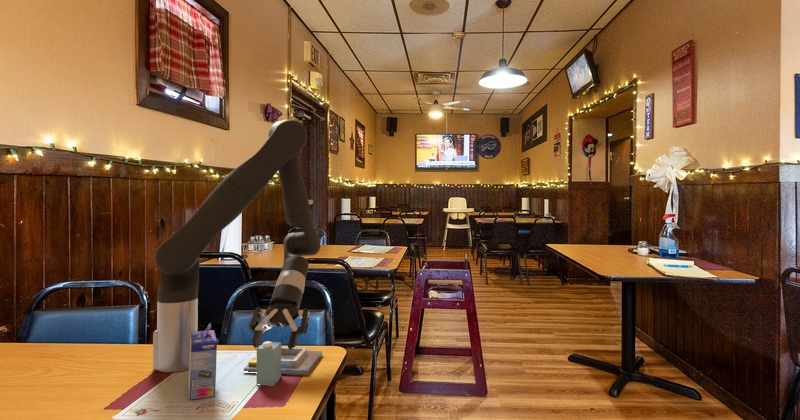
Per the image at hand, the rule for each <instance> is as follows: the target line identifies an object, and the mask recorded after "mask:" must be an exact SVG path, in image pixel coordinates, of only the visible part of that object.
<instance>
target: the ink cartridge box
mask: <svg viewBox="0 0 800 420" xmlns="http://www.w3.org/2000/svg"><path fill="white" fill-rule="evenodd" d="M206 326H207V327H206V328H205V330H198V331H197V332H191V335H190V360H189V369H188V384H187V385H188V400H189V401H190V400H198V399H205V398H206V399H207V398H213V397H216V387H217V386H216V383H217V350H218V346H217V345H218V339H217V337H216V332H215V329H214V330H213V329H212V323H211V322H210V323H208V325H206Z"/></svg>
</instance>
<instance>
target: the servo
mask: <svg viewBox="0 0 800 420" xmlns="http://www.w3.org/2000/svg"><path fill="white" fill-rule="evenodd" d="M281 347H282V341H281V342H280V341H268V340H267V341H264V342H263V343H261V344H260V345H259V347H258V348H257V349H256V358H257V374H256V385H257V384H260V385H268V386H267V387H275V385H276V384H277V383H278V382H279V380H280V379H281V378H282V375H281ZM280 377H281V378H280ZM279 378H280V379H279ZM276 382H277V383H276ZM275 383H276V384H275Z"/></svg>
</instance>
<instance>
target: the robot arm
mask: <svg viewBox="0 0 800 420" xmlns="http://www.w3.org/2000/svg"><path fill="white" fill-rule="evenodd" d="M307 140H308V132H307V129H306V126H304V124H303V123H301V122H299V121H298V120H296V119H295V120H294V119H283V120H278V121H276V122H275V123H273V124H272V126H271V127H270V129H269V132H268V138H267V140H266V141H265V142H264V144H262V146H261V147H260V148H259V150H257V152H255V153H254V154H253V155H252V156H250V157H249V158H248V159H246V160H245V161H243V162H242V163H240V164H239V165H238V166H237V167H236V168H234V169H233V170H232V171H230V172H229V173H228V174H227V175H226V176H225V177H224V178H223V179H222V180H221V181H220V182H219V184H217V186H216V187H214V189H213V190H212V191H211V193H210V194H208V196H207V197H206V198H205V200H204V201H203V202H202V203H201V204H200V206H199V207H198V208H197V210H196V212H195V213H194V214H193V215H192V217H190V218H189V220H188V221H187V222H185V224H183V225H182V226H181V227H180V228H179V229H178V230H176V231H175V232H174V233H173V234H172V235H170V237H169V238H167V239H166V240H164V241H163V242H162V243H161V244H159V246H157V249H156V251H155V257H154V258H155V264H156V267H157V268H158V270H159V282H158V288H157V292H156V293H157V296H156V299H157V303H156V304H157V305H156V307H157V308H156V310H157V311H156V312H157V317H156V322H157V323H156V330H154V331H153V334H152V339H153V340H152V345H153V346H152V347H153V348H152V369H153V370H157V371H159V372H161V373H175V372H183V371H186V370H189V360H190V335H191V332H197V331H199V330H198V323H199V322H198V321H199V320H198V318H199V315H198V313H199V311H198V310H199V309H198V305H199V299H198V297H199V295H198V294H199V284H200V256H201V254H203V252H204V251H205V249H206V248H207V247H208V245H209V244H210V243H211V242H212V241H213V240H214V238H215V237H216V236H217V235H218V234H219V233H220V232H221V231H223V230H224V229H226V227H228V226H229V225H231V223H233V221H235V220H236V219H237V218H238V217H239V216H240V215H241V214H243V212H244V211H245V210H246V209H247V208H248V207H249V206H250V205H251V203H252V202H253V201H254V200H255V199H256V198H257V196H258V195H259V194H260V193H261V192H262V191H263V190H264V188H265V187H266V186H267V185H268V184H269V182H270V181H271V180H272V178H273V177H274V176H275V175H276V174H277V173H278V175H279V180H280V185H281V186H280V187H281V193H282V201H283V208H284V213H285V214H284V215H285V220H286V223H287V224H288V225H289V226H291V227H297V228H300V230H302V231H299V232H290V233H287V235H286V236H285V237H284V240H283V264H282V266H281V269H280V274H279V276H278V277H277V279H276V282H275V287H274V288H273V292H272V296H271V299H270V302H269V306H268V307H267V309H263V308H261V307H260V306H257V307H255V309H254V312H253V314H252V317H251V320H250V322H249V325H248V328H249V330H250V331H251V333H252V334H253V337H252V339H251V344H252V346H253V348H254V349H255V350H257V348H258V347H259V346H261V341H262V339H263V334H264V333H265V332H266V331H267V330H268V331H269V330H270V329H271V328H273V327H274V328H277V327H283V328H287V327H288V326H289V327H290V329H291V331H290V335H289V339H288V343H287V347H288V348H289V350H293V347H296V346H297V342H298V338H299V335H302V334H303V335H306V334H307V333H308V329H309V328H308V327H309V322H310V317H311V314H310V313H311V312H310V311H309V309H308V308H307V307H305V308H303V309H300V305H301V304H302V303H301V302H302V299H303V295H304V292H305V285H306V279H307V274H308V270H309V261H308V260H307V259H306V257H310V256H315V255H317V254H318V253H319V251H320V249H321V239H320V236H319V233H318V231H317V229H316V227H315V225H314V222H313V219H312V216H311V209H310V203H309V196H308V191H307V188H306V185H305V181H304V179H303V176H302V171H301V168H300V161H299V159H300V158H299V152H301V151H302V150H303V148H304V147H305V146H306V144H307ZM305 256H306V257H305ZM264 316H265V317H264ZM299 316H300V318H301V322H300V326H297V325H296V323H295V320H296V319H297V318H299ZM261 319H262V320H261Z"/></svg>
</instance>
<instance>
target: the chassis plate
mask: <svg viewBox="0 0 800 420" xmlns="http://www.w3.org/2000/svg"><path fill="white" fill-rule="evenodd" d="M322 356H323V350H309V349H308V347H296V346H295V347H293V350H289V348H288V346H281V374H287V376H306V377H307V376H308V375H309V374H310V373H311V371H312V370H313V368H314V367H315V366H316V364H317V363H318V362H319V360H320V358H322ZM247 363H248V364H247V365H246V366H245V367H243V372H244V371H248V372H257V357H253V358H252V359H251V360H249V361H248V362H247Z"/></svg>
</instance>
